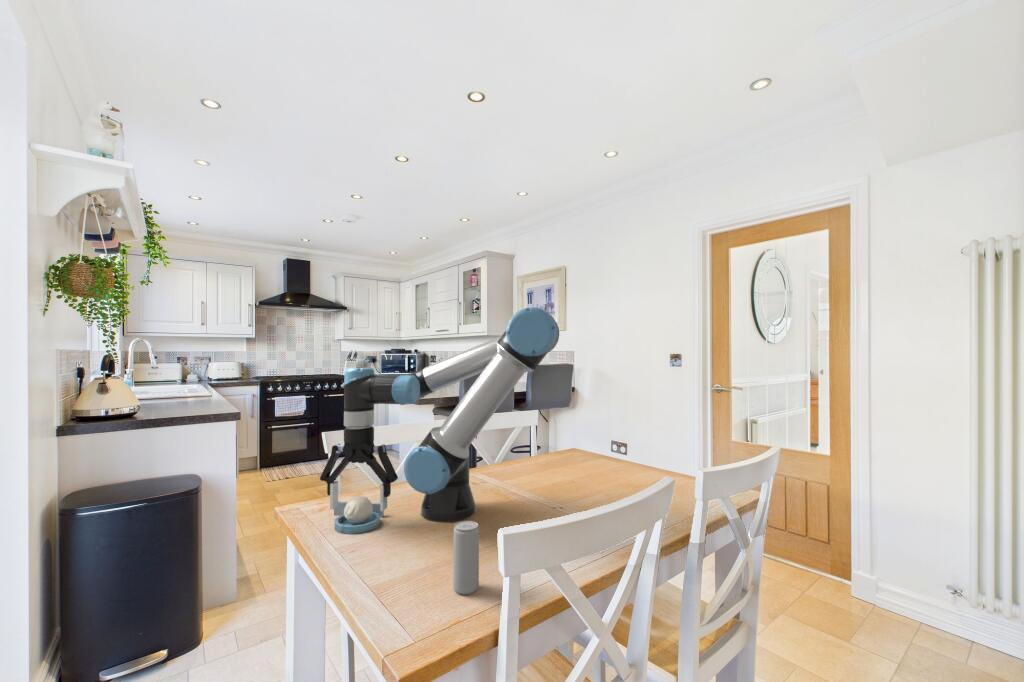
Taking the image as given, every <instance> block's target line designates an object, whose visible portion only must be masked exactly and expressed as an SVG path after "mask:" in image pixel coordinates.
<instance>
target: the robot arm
mask: <svg viewBox="0 0 1024 682" xmlns="http://www.w3.org/2000/svg"><path fill="white" fill-rule="evenodd" d="M559 338H560V328H559V326H558V323H557V321H556V320H555V318H554V316H552V315H551V314H550V313H549V312H548V311H546V310H544V309H543V308H541V307H535V306H533V307H526V308H522V309H520V310H518V311H517V312H516V313H514V314H513V315H512V317H511V318H510V319H509V321H508V322H507V325H506V329H505V331H504V332H503V333H502V335H500V336H497V337H495V338H493V339H490V340H488V341H485V342H483V343H479V345H476V346H473V347H471V348H468V349H465V350H463V351H462V352H459V353H456V354H454V355H452V356H449V357H447V358H445V359H444V358H443V359H442V360H440V361H438V362H435V363H433V364H430V365H428V366H426V367H424V368H421V369H418V370H416V371H414V372H410V373H405V374H403V373H402V374H393V375H391V374H390V375H389V374H388V375H377V374H375V369H374V368H373V367H349V368H347V369H345V371H344V377H343V378H344V381H343V397H344V398H343V405H344V407H343V408H344V409H343V426H344V427H345V428H344V429H343V443H344V444H343V445H341V444H340V443H337V444H334V445H332V447H331V453H330V455H329V458H328V460H327V462H326V465H325V467H324V469H323V471H321V472H322V473H321V474H320V476H319V480H320V482H326V483H327V484H326V485H327V486H326V491H327V493H326V494H327V496H329V498H330V499H329V510H334V508H336V507H337V506H338V501H339V481H338V480H337V479H338V477H339V476H340V475H341V474H342V472H343V471H344V470H345V469H346V467H347V466H348V465H349V463H351V464H356V463H358V464H364V463H366V465H367V466H369V467H370V468H371V470H372V471H373V472H374V474H375V475H376V476H377V478H378V479H379V480H380V481H381V482H382V483H381V484H380V486H379V487H380V489H379V490H380V491H379V492H380V494H379V495H380V496H379V497H380V498H379V501H380V502H379V503H380V511H384V512H385V510H386V509H388V498H389V497H390V496H391V493H392V492H391V490H392V489H391V486H392V483H395V482H396V481H397V480H398V479H399V476H398V475H397V473H396V470H395V468H394V466H393V463H392V460H391V459H390V457H389V455H388V453H387V446H386V444H385V443H384V444H380V445H376V446H375V444H374V441H375V427H374V426H373V425H374V424H375V405H381V404H382V405H400V406H404V405H413V404H415V403H416V402H418V400H421V399H423V398H424V397H426V396H428V395H431V394H433V393H434V392H437V391H439V390H442V389H444V388H447V387H450V386H452V385H454V384H457V383H459V382H461V381H464V380H467V379H469V378H473V377H474V376H476V375H478V377H477V378H476V380H475V381H474V382H473V384H472V385H471V386H470V387H469V389H468V390H467V392H465V394H464V396H462V398H461V400H460V401H459V402H458V403H457V405H456V406H455V408H454V409H453V410H452V411H451V413H450V415H449V416H448V417H447V418H446V419H445V421H444V422H443V424H441V426H437V427H432V428H431V429H430V431H429V432H428V433H427V435H426V436H425V437H424V439H423V440H422V441H421V442H420V443H419V445H418V446H417V447H415V448H413V449H412V450H411V451H410V452H409V453H408V455H407V456H406V458H405V460H404V464H403V472H404V477H405V480H406V482H407V483H408V484H409V486H410V487H411V488H412V489H413V490H415V491H416V492H418V493H421V494H424V496H423V500H422V503H421V506H420V510H421V511H420V512H421V513H420V514H421V516H422V517H423V518H424V519H426V520H429V521H432V522H433V521H435V522H456V521H457V522H458V521H463V520H466V519H468V518H470V517H472V516H473V515H474V514H475V513H476V501H475V498H474V495H473V492H472V490H471V489H472V488H471V485H470V445H471V444H472V443H473V441H474V440H475V439H476V438H477V436H478V435H479V434H480V432H481V430H482V429H484V427H485V426H486V425H487V424H488V422H489V421H490V419H491V418H492V416H493V415H494V413H496V411H497V410H498V409H499V408H500V406H501V404H502V403H503V402H504V401H505V399H506V398H507V397H508V395H509V394H510V393H511V392H512V390H513V389H514V388H515V387H516V385H517V383H518V382H519V381H520V379H522V377H523V376H524V374H525V373H529V372H535V370H536V369H537V367H538V366H539V365H540V364H541V363H542V361H543V360H544V358H545V357H546V356H547V354H549V353H550V352H551V351H553V350H554V348H556V345H557V344H558V343H559ZM342 452H343V454H344V455H345V456H344V457H343V459H342V460H341V461H340V463H339V464H338V465H337V466H336V468H335V469H334V467H335V465H336V464H337V461H338V459H339V457H340V455H341V453H342ZM374 453H376V454H377V455H378V458H379V460H380V462H381V464H380V462H378V460H377V458H376V457H375V455H374ZM333 469H334V470H333ZM332 471H333V472H332Z"/></svg>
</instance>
